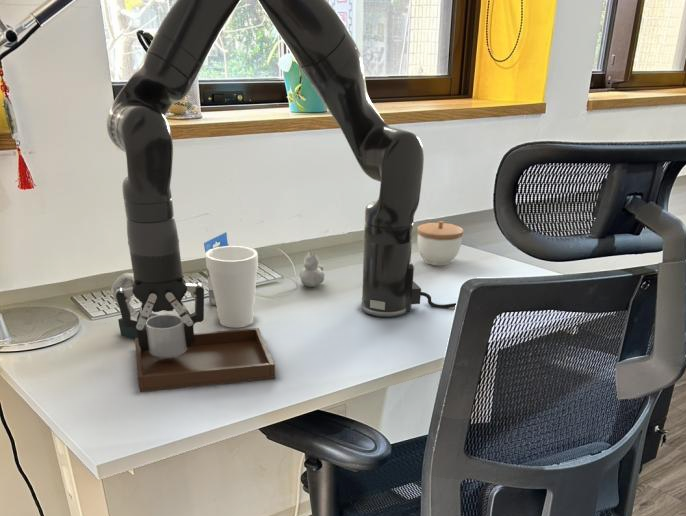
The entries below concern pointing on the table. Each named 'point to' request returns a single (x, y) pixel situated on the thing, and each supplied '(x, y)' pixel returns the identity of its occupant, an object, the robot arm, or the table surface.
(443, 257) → the trinket box
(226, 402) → the table surface
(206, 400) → the table surface
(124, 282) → the ring sculpture on stand
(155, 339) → the grey cup
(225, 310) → the foam cup
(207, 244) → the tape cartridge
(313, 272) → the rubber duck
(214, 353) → the tray
